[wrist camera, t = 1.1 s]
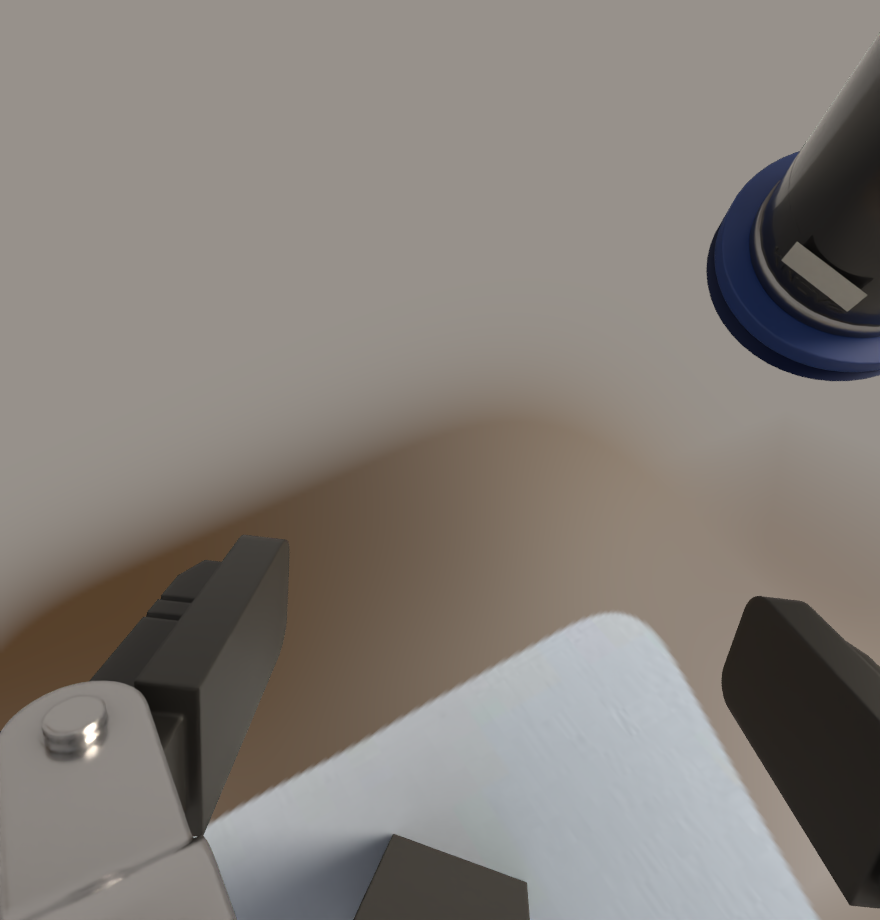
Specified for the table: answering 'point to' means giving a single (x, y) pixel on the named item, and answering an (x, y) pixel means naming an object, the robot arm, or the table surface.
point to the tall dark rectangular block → (439, 888)
